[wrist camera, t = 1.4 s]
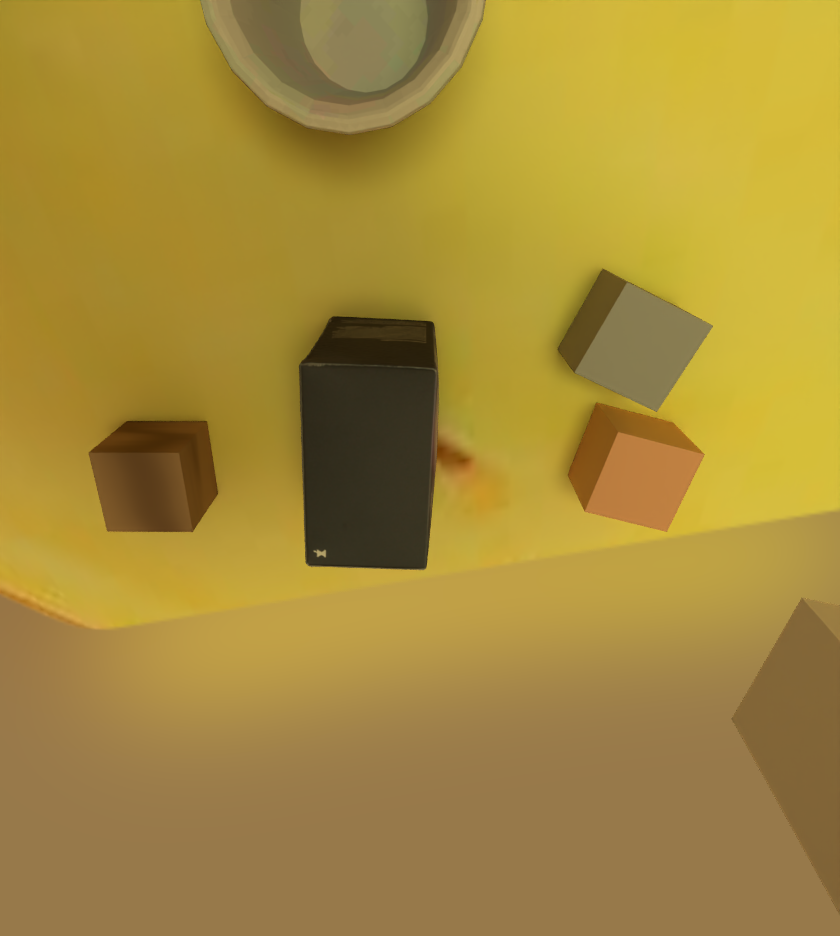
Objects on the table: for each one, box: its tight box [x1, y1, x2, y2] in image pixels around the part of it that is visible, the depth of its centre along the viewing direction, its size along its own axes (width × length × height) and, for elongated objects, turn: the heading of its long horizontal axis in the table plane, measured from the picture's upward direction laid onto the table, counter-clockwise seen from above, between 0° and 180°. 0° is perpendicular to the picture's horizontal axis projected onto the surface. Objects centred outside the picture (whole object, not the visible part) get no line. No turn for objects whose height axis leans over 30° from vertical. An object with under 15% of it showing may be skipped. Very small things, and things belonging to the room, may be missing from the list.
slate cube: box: [558, 269, 713, 412], centre depth 35 cm, size 5×5×5 cm
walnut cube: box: [89, 421, 218, 532], centre depth 39 cm, size 5×5×5 cm
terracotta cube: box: [568, 403, 705, 532], centre depth 38 cm, size 5×5×5 cm
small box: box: [299, 316, 439, 570], centre depth 34 cm, size 11×6×10 cm, turn 178°
